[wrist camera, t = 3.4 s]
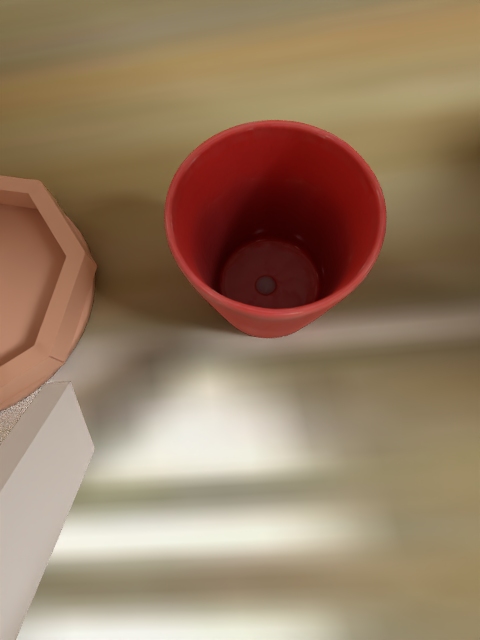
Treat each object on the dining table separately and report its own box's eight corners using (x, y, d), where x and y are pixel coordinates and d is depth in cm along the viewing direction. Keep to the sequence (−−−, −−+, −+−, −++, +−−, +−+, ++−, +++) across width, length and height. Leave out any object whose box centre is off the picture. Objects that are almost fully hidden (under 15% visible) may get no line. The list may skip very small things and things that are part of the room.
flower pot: (188, 360, 25) (149, 313, 16) (199, 222, 29) (173, 117, 19) (345, 365, 25) (398, 319, 15) (337, 223, 28) (377, 116, 19)
